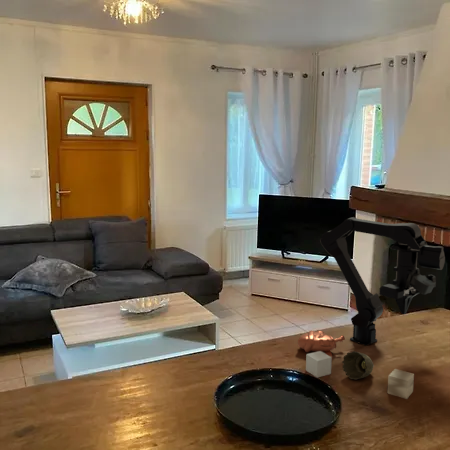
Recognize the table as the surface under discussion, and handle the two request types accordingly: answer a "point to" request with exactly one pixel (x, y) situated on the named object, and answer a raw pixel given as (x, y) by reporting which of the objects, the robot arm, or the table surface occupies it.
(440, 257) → the robot arm
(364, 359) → the cup
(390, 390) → the birch block
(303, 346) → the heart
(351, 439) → the table surface
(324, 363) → the grey block
